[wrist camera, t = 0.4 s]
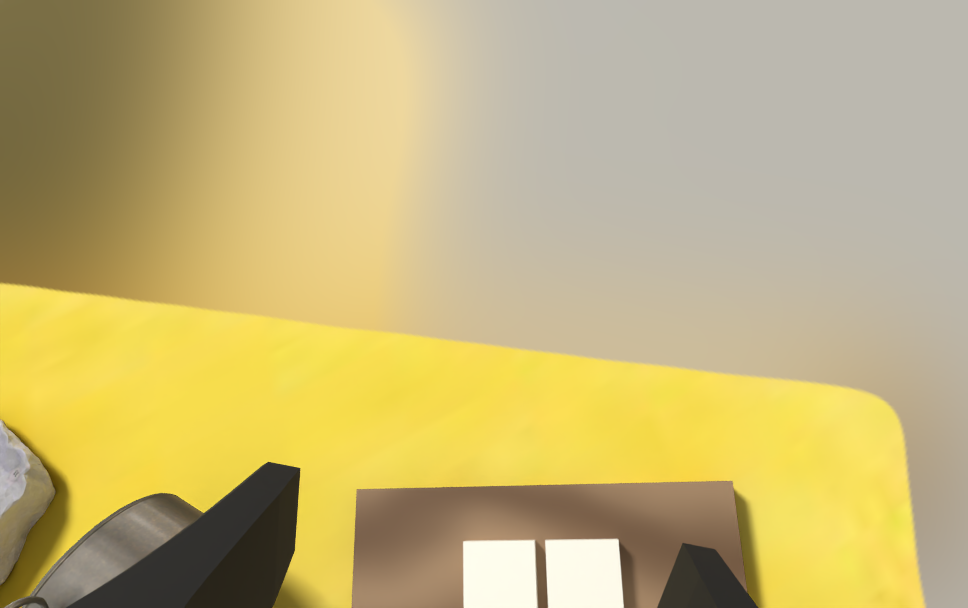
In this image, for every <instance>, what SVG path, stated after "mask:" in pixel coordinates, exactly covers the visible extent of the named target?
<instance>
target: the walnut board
mask: <svg viewBox="0 0 968 608" xmlns="http://www.w3.org/2000/svg"><path fill="white" fill-rule="evenodd" d="M559 539H618V540H619V553H620V566H621V579H622V591H623V604H624V608H657V606H658V604H659V601H660V599H661V596H662V594H663V591H664V589H665V586H666V584H667V581H668V578H669V576H670V573H671V571H672V568H673V566H674V563H675V561H676V558H677V556H678V553H679V551H680V548H681V546H682V543H686V544H691V545H696V546H702V547H707V548H712V549H715V550H716V551H717V552H718V553H719V555H720V556H721V557H722V559H723V560H724V561H725V563H726V564H727V566H728V567H729V568H730V570H731V571H732V572H733V574H734V575H735V577H736V578H737V579H738V581H739V582H740V584H741V585H742V586H743V588H744V589H745V590H746V592H747V587H746V579H745V572H744V564H743V557H742V549H741V542H740V534H739V527H738V519H737V512H736V504H735V497H734V490H733V482H732V481H708V482H663V483H619V484H574V485H530V486H486V487H441V488H397V489H357V496H356V519H355V542H354V565H353V588H352V608H464V596H463V542H464V541H481V540H535V543H536V568H537V594H538V608H548V594H547V571H546V548H545V540H559Z"/></svg>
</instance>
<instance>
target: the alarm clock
mask: <svg viewBox="0 0 968 608" xmlns="http://www.w3.org/2000/svg"><path fill="white" fill-rule="evenodd" d="M202 514H204V513H202V512H201V511H199V510H198V509H196V508H195V507H193V506H191V505H190V504H188V503H187V502H185V501H184V500H182V499H181V498H179V497H178V496H176V495H173V494H167V493H159V494H153V495H150V496H147V497H144V498H141V499H139V500H136V501H134V502H132V503H130V504H128V505H126V506H124V507H122V508H121V509H119V510H118V511H116V512H114V513H113V514H112V515H110V516H109V517H107V518H106V519H104V520H103V521H101V522H100V523H99V524H97V525H96V526H95V527H94V528H93V529H91V530H90V531H89V532H88V533H86V534H85V535H84V536H83V537H82V538H81V539H80V540H79V541H78V542H77V543H76V544H75V545H74V546H72V547H71V548H70V549H69V550H68V551H67V552H66V553H65V554H64V555H63V556H62V557H61V558H60V559H59V560H58V561H57V562H56V563H55V564H54V565H53V566H52V568H51V569H50V570H49V571H48V573H47V574H46V575H45V576H44V577H43V578H42V580H41V581H40V582H39V584H38V585H37V587H36V588H35V589H34V591H33V592H32V593H31V595H30V596H27V597H24V598H21V599H18V600H16V601H14V602H12V603H11V604H9V605H8V606H6V607H4V608H19V607H21V606H23V607H22V608H65V607H67V606H69V605H70V604H72V603H74V602H75V601H77V600H79V599H80V598H82V597H84V596H85V595H87V594H89V593H90V592H92V591H94V590H95V589H97V588H98V587H100V586H102V585H103V584H105V583H106V582H108V581H110V580H111V579H113V578H114V577H116V576H117V575H119V574H120V573H122V572H123V571H125V570H126V569H128V568H129V567H131V566H132V565H134V564H135V563H137V562H138V561H139V560H141V559H142V558H144V557H145V556H147V555H148V554H149V553H151V552H152V551H154V550H155V549H157V548H158V547H159V546H161V545H162V544H164V543H165V542H167V541H168V540H169V539H171V538H172V537H173V536H175V535H176V534H178V533H179V532H180V531H181V530H183V529H184V528H185V527H187V526H188V525H189V524H191V523H192V522H193V521H194V520H196V519H197V518H198V517H200V516H201V515H202Z"/></svg>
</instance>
